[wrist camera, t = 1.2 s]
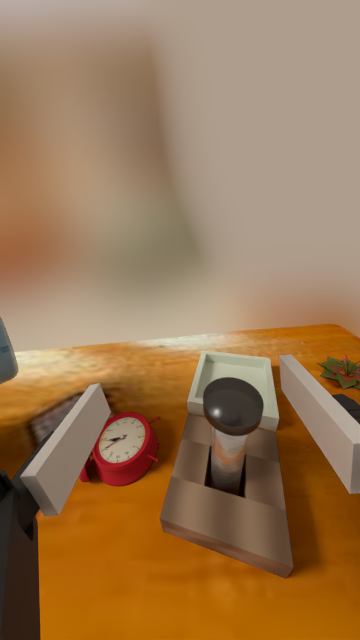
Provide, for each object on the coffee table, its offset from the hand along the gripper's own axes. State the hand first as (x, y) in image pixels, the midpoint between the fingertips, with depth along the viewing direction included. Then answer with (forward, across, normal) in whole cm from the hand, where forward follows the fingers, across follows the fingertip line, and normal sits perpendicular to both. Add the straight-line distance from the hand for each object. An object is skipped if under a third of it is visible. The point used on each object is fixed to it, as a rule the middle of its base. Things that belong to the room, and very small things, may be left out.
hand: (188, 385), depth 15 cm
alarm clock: (+12, -17, -20) cm, 29 cm away
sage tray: (+25, +5, -21) cm, 33 cm away
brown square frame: (+8, +1, -23) cm, 25 cm away
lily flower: (+29, +32, -25) cm, 50 cm away
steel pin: (+8, +1, -23) cm, 25 cm away
